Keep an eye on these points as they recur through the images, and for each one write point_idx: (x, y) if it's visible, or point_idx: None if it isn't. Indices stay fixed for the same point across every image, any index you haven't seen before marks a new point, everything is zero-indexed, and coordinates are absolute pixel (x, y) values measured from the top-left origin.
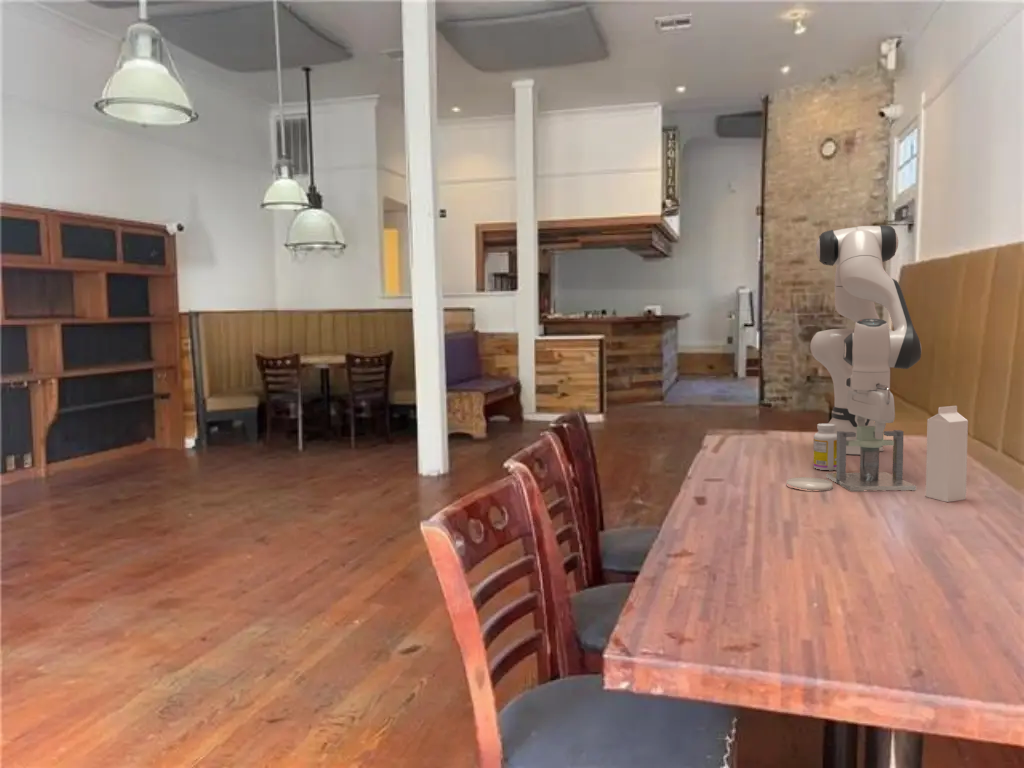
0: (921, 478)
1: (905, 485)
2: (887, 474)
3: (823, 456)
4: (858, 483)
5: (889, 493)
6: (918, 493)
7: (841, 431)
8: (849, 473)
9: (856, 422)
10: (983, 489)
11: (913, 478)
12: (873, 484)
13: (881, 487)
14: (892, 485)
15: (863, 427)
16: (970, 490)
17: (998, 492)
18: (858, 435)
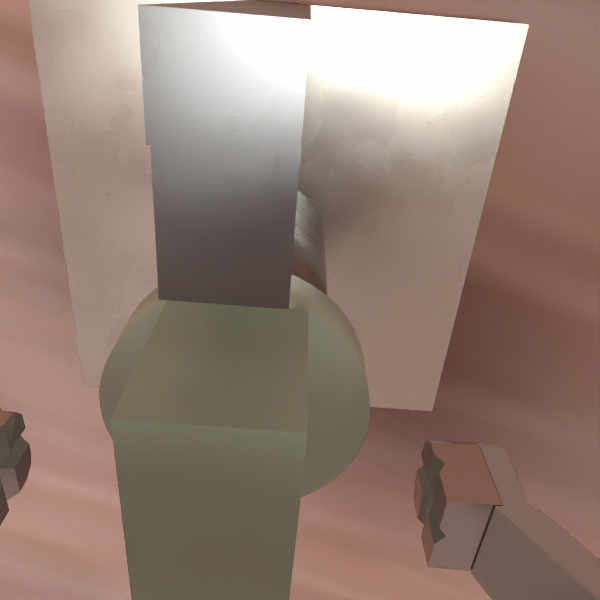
0: (349, 503)
1: (85, 343)
2: (374, 389)
3: None
4: (140, 101)
5: (12, 215)
6: (27, 351)
7: (261, 101)
8: (463, 198)
9: (584, 549)
10: (121, 584)
11: (357, 477)
12: (109, 187)
13: (62, 208)
14: (83, 280)
15: (127, 452)
16: (102, 545)
17: (71, 597)
18: (244, 339)
